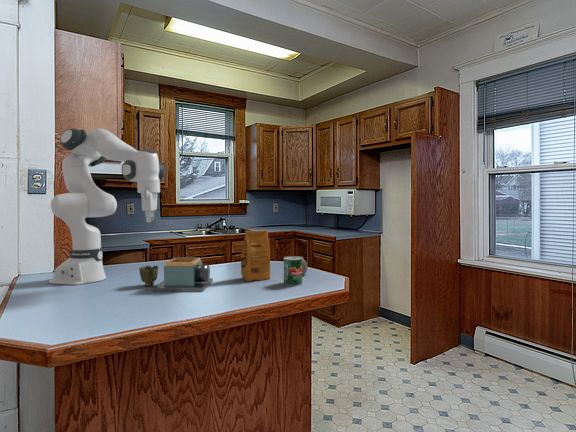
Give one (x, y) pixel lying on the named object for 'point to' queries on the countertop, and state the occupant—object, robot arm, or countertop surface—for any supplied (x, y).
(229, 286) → the countertop surface
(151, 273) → the cup
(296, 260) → the canned tomato
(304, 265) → the vase
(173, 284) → the motor mount
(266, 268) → the coffee package
